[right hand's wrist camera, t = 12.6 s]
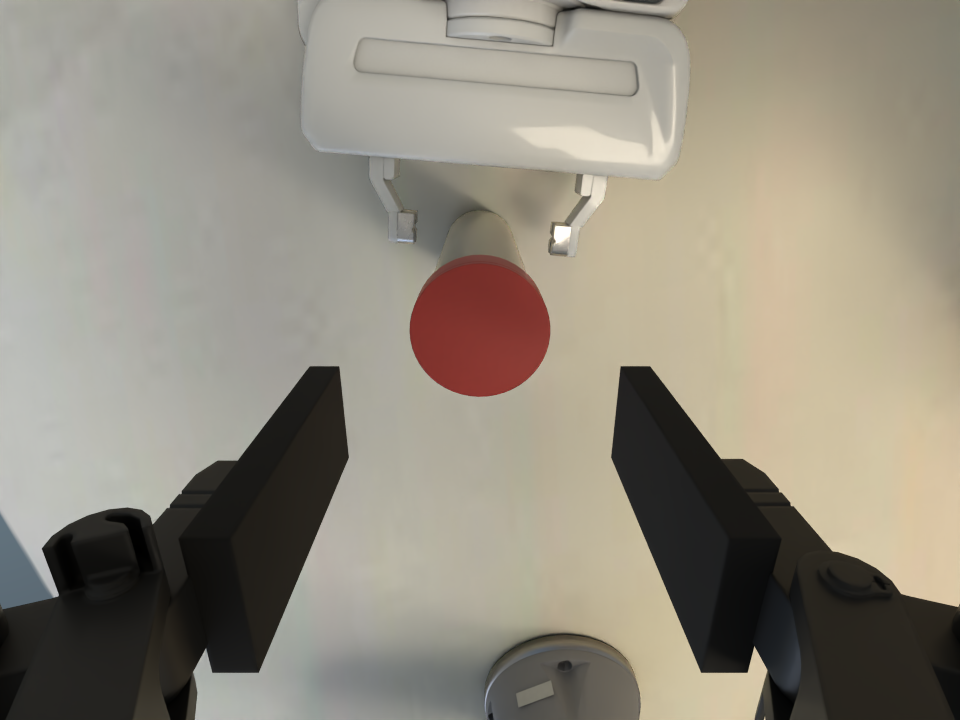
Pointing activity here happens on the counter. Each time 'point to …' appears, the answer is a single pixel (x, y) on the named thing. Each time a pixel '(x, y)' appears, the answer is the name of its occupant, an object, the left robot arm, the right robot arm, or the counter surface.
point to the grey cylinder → (479, 238)
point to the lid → (480, 326)
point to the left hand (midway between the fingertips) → (482, 248)
